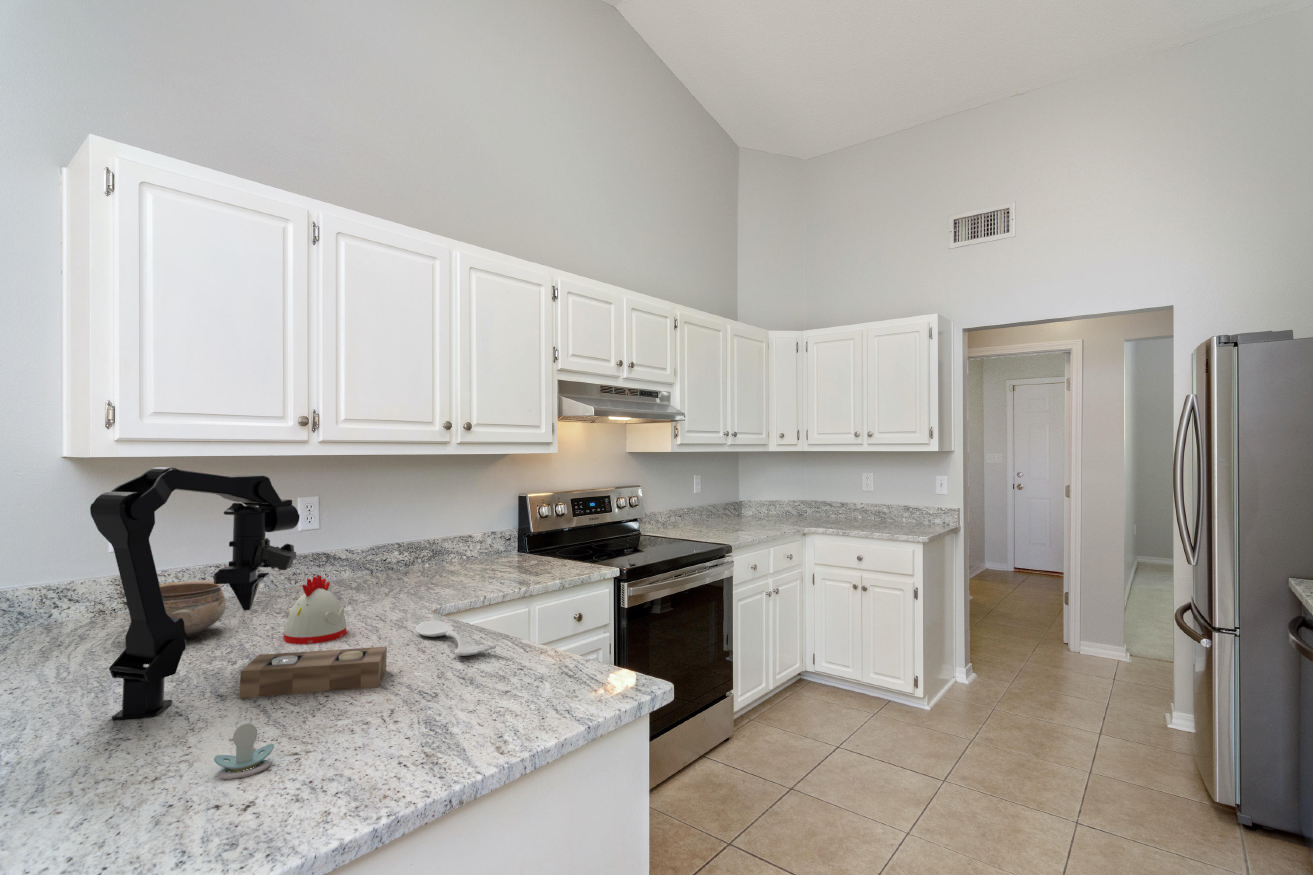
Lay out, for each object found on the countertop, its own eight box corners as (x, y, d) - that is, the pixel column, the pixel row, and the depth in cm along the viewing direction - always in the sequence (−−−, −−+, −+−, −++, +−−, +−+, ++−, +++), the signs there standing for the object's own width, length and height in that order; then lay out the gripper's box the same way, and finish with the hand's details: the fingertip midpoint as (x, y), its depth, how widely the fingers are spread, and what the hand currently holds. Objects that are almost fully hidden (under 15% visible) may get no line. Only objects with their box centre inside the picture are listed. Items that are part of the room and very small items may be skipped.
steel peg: (293, 686, 122) (293, 661, 122) (267, 688, 121) (268, 663, 121) (299, 678, 126) (300, 654, 127) (275, 680, 125) (275, 656, 125)
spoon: (459, 666, 137) (459, 650, 137) (410, 633, 162) (410, 619, 162) (497, 658, 143) (497, 643, 143) (444, 627, 167) (444, 614, 167)
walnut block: (378, 687, 124) (378, 661, 124) (239, 697, 117) (240, 671, 118) (386, 670, 133) (386, 646, 133) (258, 679, 127) (259, 654, 127)
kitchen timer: (269, 641, 153) (271, 579, 153) (313, 626, 166) (314, 569, 167) (317, 646, 149) (319, 582, 150) (358, 630, 163) (359, 572, 163)
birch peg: (360, 680, 125) (360, 657, 125) (335, 682, 124) (336, 658, 124) (364, 673, 130) (364, 650, 130) (341, 675, 128) (341, 651, 129)
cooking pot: (130, 631, 159) (132, 583, 159) (220, 620, 171) (222, 575, 171) (127, 657, 140) (129, 602, 140) (229, 642, 151) (231, 591, 152)
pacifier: (274, 772, 91) (272, 754, 96) (276, 729, 91) (273, 713, 96) (213, 787, 87) (213, 767, 92) (214, 742, 87) (215, 725, 92)
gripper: (278, 540, 125) (276, 619, 124) (304, 529, 143) (302, 598, 142) (213, 541, 122) (211, 622, 121) (249, 530, 140) (247, 600, 139)
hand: (247, 609), depth 131 cm, fingers closed
